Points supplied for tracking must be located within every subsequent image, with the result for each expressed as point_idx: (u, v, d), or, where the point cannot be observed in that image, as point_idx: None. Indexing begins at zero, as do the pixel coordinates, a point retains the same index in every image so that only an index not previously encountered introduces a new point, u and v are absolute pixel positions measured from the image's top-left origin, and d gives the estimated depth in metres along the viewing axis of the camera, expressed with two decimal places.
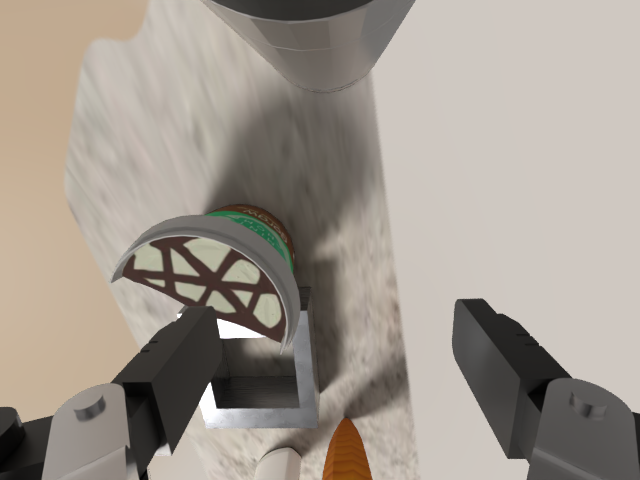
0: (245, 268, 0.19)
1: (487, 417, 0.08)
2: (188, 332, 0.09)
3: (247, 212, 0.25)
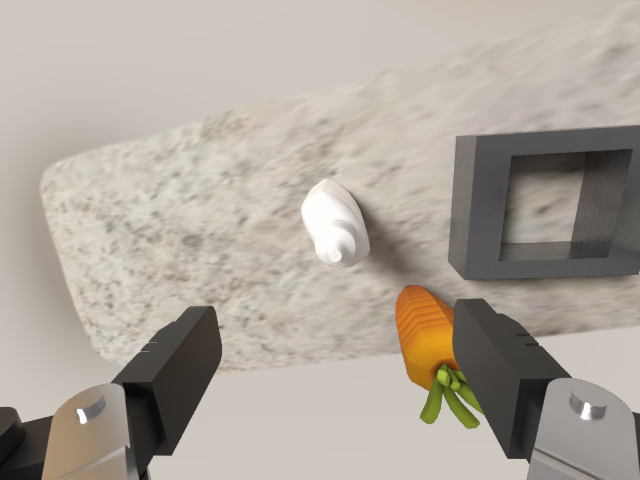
0: None
1: (487, 417, 0.08)
2: (188, 332, 0.09)
3: None
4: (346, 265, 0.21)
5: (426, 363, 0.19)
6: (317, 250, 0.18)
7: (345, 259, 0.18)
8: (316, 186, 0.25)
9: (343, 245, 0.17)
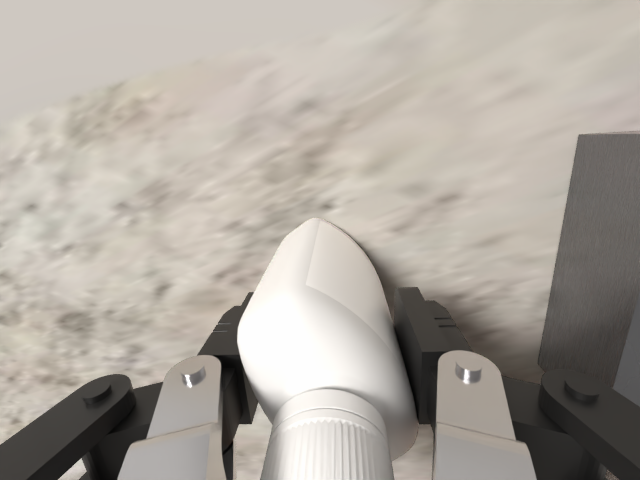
0: None
1: None
2: None
3: None
4: None
5: None
6: None
7: None
8: (291, 240, 0.12)
9: None
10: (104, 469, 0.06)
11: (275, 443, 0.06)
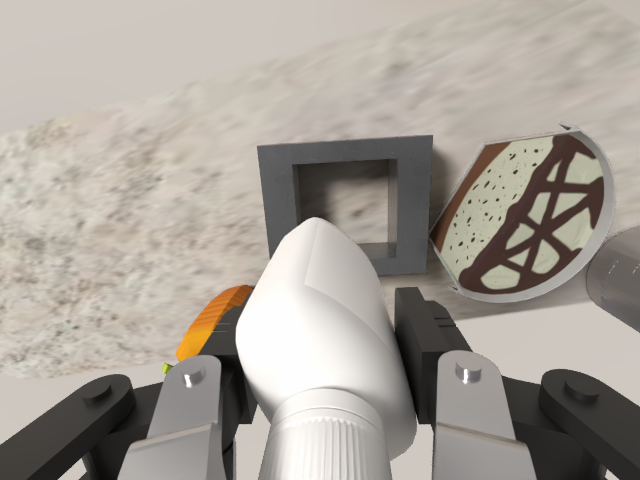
0: (549, 261, 0.20)
1: None
2: None
3: None
4: None
5: (186, 358, 0.21)
6: None
7: None
8: (290, 239, 0.12)
9: None
10: (104, 469, 0.06)
11: (273, 443, 0.06)
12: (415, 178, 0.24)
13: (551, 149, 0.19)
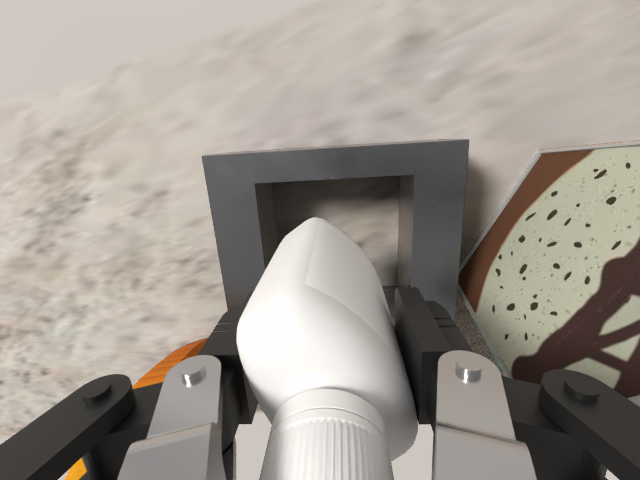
0: None
1: None
2: None
3: None
4: None
5: None
6: None
7: None
8: (290, 239, 0.12)
9: None
10: (104, 469, 0.06)
11: (274, 443, 0.06)
12: (441, 204, 0.16)
13: None
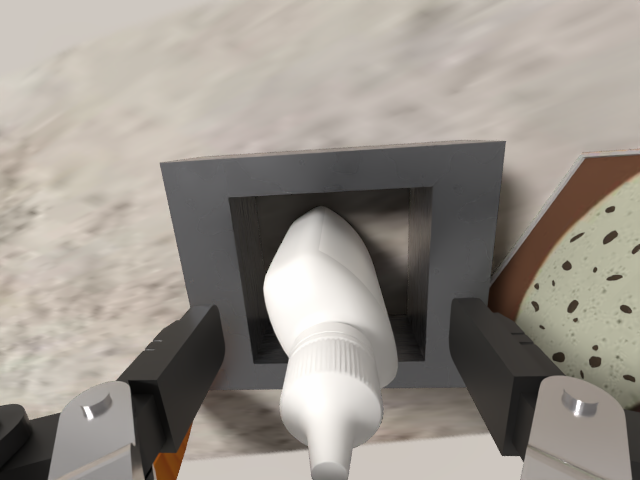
0: None
1: (482, 415, 0.08)
2: (192, 331, 0.09)
3: None
4: None
5: None
6: (285, 418, 0.07)
7: (353, 444, 0.07)
8: (301, 222, 0.14)
9: (351, 424, 0.07)
10: None
11: (296, 354, 0.08)
12: (466, 223, 0.12)
13: None
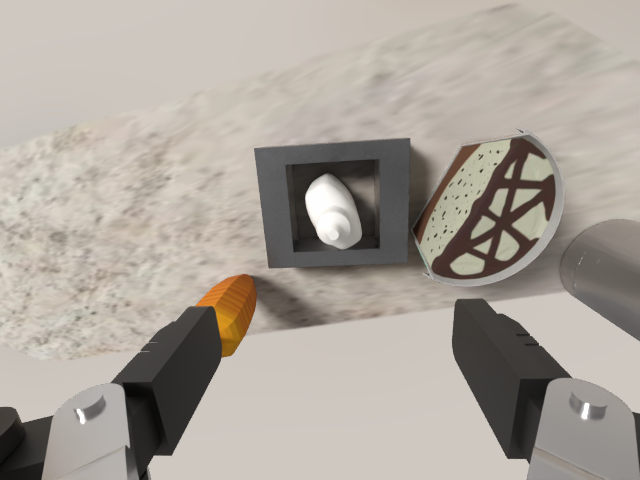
0: (510, 250, 0.23)
1: (488, 417, 0.08)
2: (188, 332, 0.09)
3: None
4: (341, 247, 0.25)
5: None
6: (318, 230, 0.22)
7: (341, 239, 0.22)
8: (318, 179, 0.29)
9: (340, 227, 0.21)
10: None
11: (321, 214, 0.22)
12: (395, 176, 0.27)
13: (508, 150, 0.21)
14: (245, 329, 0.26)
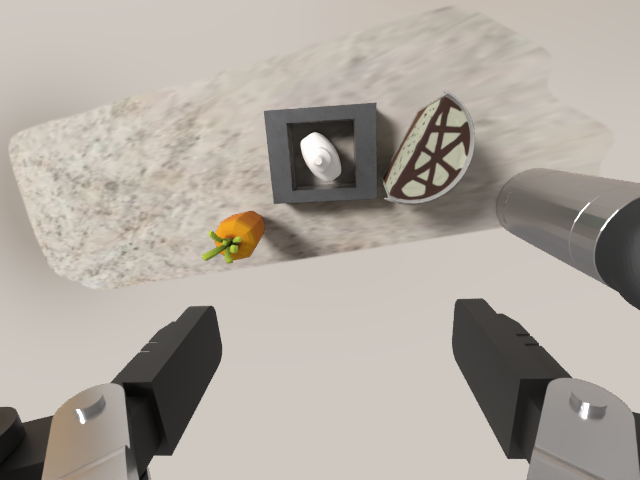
0: (442, 177, 0.33)
1: (487, 417, 0.08)
2: (188, 332, 0.09)
3: None
4: (325, 180, 0.35)
5: (220, 238, 0.34)
6: (308, 161, 0.32)
7: (324, 167, 0.32)
8: None
9: (323, 157, 0.31)
10: None
11: None
12: (366, 131, 0.37)
13: (438, 106, 0.31)
14: (257, 239, 0.36)
